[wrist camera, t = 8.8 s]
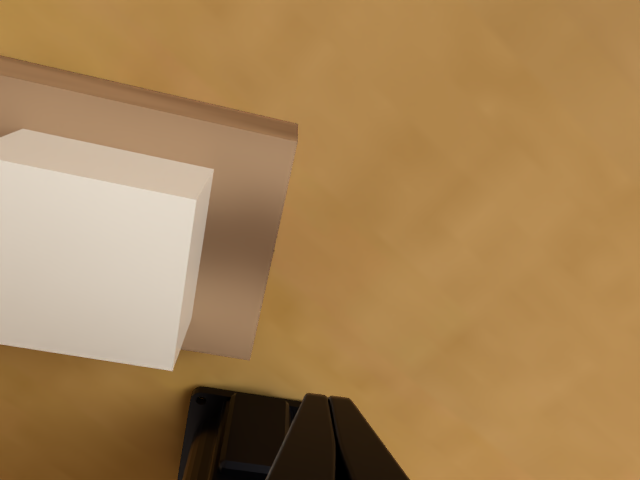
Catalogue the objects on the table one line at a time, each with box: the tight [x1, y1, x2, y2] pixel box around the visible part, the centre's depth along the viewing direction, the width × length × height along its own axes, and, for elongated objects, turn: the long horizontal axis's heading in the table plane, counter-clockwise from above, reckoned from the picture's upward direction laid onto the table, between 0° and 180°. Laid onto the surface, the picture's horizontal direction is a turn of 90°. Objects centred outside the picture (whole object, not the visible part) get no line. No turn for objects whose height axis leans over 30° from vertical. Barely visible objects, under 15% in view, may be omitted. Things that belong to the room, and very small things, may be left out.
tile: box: [0, 129, 214, 371], centre depth 15 cm, size 6×6×3 cm
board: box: [0, 56, 298, 360], centre depth 18 cm, size 9×11×3 cm
